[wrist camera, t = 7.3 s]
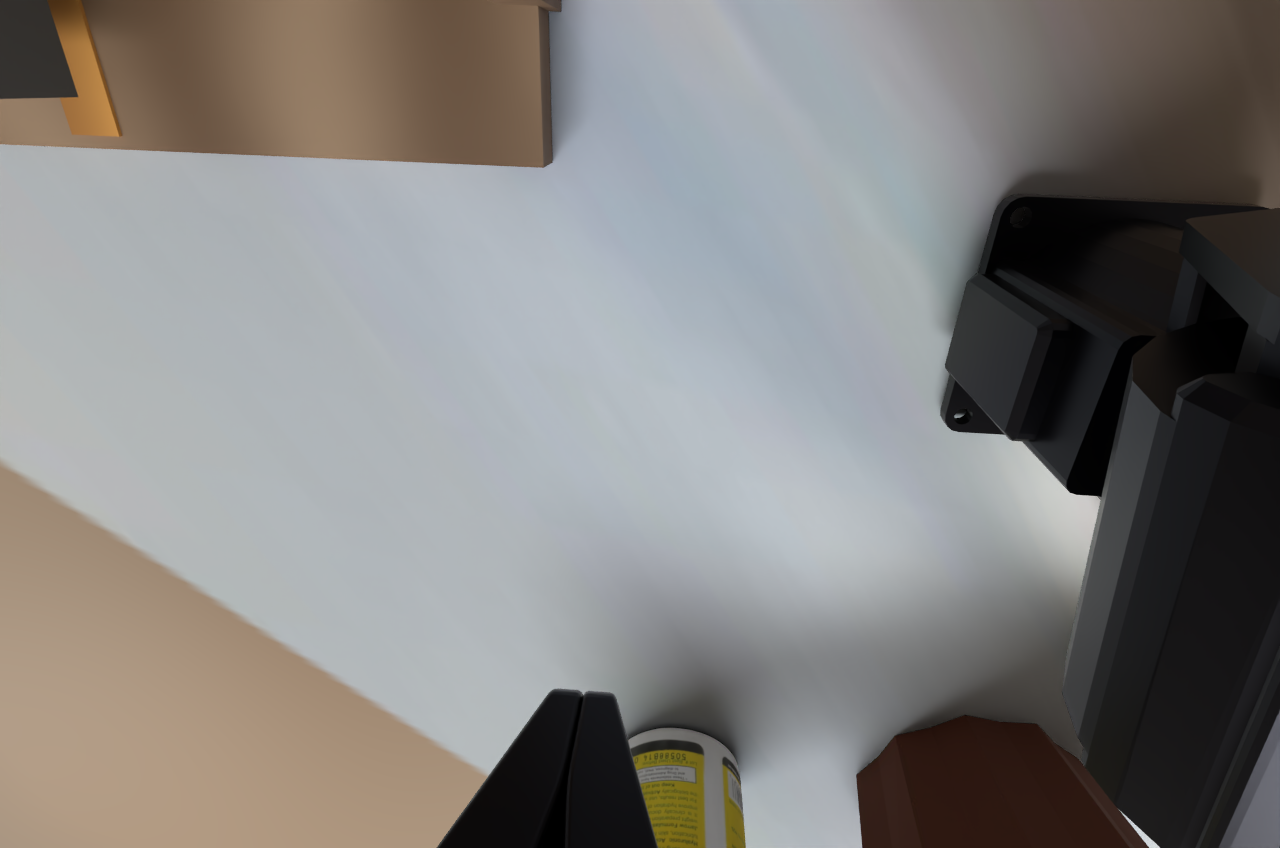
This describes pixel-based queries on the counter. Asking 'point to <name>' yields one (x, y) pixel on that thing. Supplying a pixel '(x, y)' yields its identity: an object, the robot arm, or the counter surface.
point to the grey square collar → (31, 53)
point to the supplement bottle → (689, 789)
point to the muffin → (985, 792)
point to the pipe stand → (301, 80)
